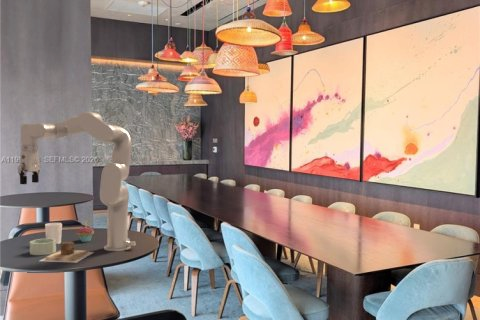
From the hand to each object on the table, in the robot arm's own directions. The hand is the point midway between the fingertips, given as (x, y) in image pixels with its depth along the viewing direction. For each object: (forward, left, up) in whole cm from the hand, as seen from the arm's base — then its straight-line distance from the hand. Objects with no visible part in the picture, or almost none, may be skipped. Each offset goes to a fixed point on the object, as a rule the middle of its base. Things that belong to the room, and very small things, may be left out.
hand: (29, 183), depth 206 cm
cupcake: (-22, -14, -31) cm, 41 cm away
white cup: (-9, -6, -31) cm, 33 cm away
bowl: (-14, +12, -31) cm, 36 cm away
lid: (-29, +18, -31) cm, 46 cm away
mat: (-29, +18, -31) cm, 46 cm away
